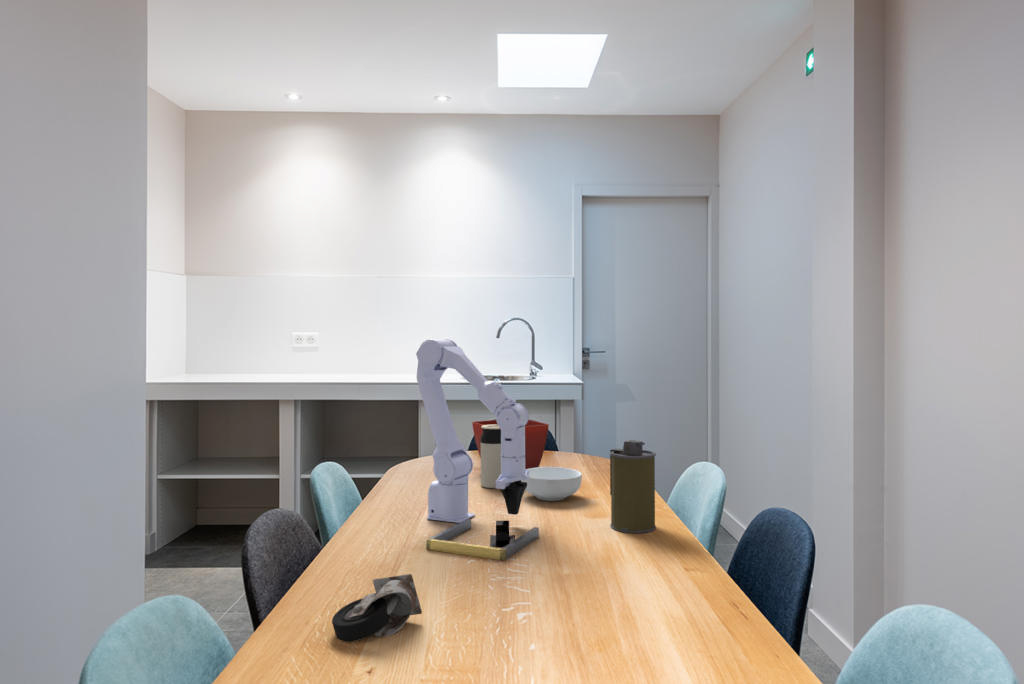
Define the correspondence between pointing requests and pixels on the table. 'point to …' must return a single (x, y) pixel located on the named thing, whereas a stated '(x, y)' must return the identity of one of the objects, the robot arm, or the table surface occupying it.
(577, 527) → the table surface
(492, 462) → the travel mug
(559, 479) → the cereal bowl
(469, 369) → the robot arm
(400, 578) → the caster wheel
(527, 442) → the plant pot
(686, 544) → the table surface
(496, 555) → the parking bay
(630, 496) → the canister
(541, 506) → the table surface
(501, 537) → the build plate
